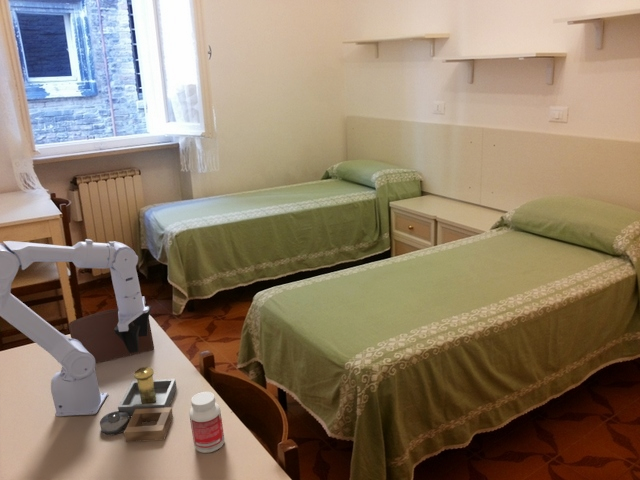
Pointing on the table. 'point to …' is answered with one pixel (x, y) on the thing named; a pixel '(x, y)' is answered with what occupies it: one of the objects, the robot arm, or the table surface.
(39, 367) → the table surface
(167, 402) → the tray
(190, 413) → the pill bottle
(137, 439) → the block
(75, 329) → the letter holder
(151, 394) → the lock pin
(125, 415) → the pulley
